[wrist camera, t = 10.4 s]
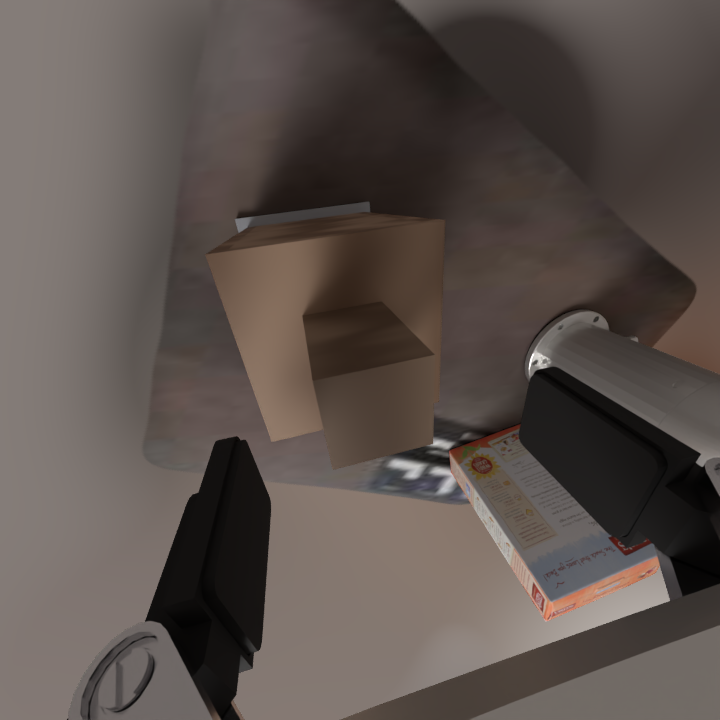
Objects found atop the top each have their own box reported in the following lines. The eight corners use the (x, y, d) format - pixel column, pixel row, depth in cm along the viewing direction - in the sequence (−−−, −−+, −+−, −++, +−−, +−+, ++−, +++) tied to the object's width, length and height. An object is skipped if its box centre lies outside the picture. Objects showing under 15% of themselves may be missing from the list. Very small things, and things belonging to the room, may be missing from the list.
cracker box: (450, 472, 49) (544, 626, 31) (447, 448, 46) (550, 603, 28) (524, 445, 50) (656, 578, 33) (526, 420, 47) (674, 551, 29)
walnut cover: (364, 211, 27) (545, 230, 8) (373, 318, 32) (497, 477, 13) (247, 227, 25) (144, 293, 7) (277, 336, 31) (266, 544, 12)
